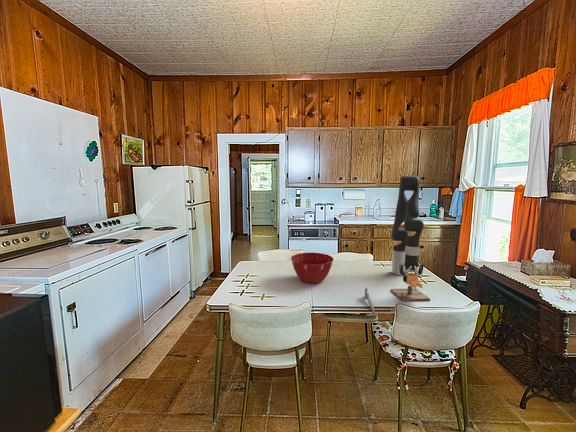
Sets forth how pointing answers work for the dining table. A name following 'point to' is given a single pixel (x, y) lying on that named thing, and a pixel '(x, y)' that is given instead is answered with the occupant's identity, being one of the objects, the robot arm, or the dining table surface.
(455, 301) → the dining table surface
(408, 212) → the robot arm
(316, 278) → the mixing bowl
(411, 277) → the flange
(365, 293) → the caliper
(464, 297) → the dining table surface
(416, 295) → the post board
